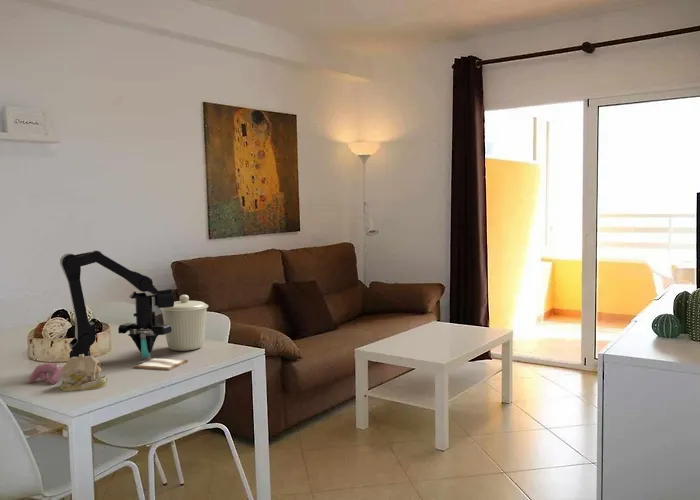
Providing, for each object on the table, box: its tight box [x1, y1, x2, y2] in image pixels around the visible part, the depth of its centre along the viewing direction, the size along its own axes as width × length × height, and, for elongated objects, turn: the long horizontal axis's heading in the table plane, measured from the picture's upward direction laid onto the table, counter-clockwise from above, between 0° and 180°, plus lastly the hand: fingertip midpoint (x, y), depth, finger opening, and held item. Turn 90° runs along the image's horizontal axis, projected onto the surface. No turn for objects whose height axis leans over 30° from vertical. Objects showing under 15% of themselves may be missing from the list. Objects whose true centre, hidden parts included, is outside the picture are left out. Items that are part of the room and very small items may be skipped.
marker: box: [140, 331, 152, 361], centre depth 221 cm, size 3×3×10 cm
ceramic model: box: [59, 354, 109, 392], centre depth 189 cm, size 14×11×10 cm
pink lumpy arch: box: [28, 362, 63, 386], centre depth 194 cm, size 10×5×7 cm, turn 75°
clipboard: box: [132, 357, 189, 371], centre depth 213 cm, size 12×14×1 cm
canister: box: [159, 294, 209, 352], centre depth 237 cm, size 18×18×21 cm
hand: (145, 352), depth 221 cm, fingers closed on marker, 3 cm apart
